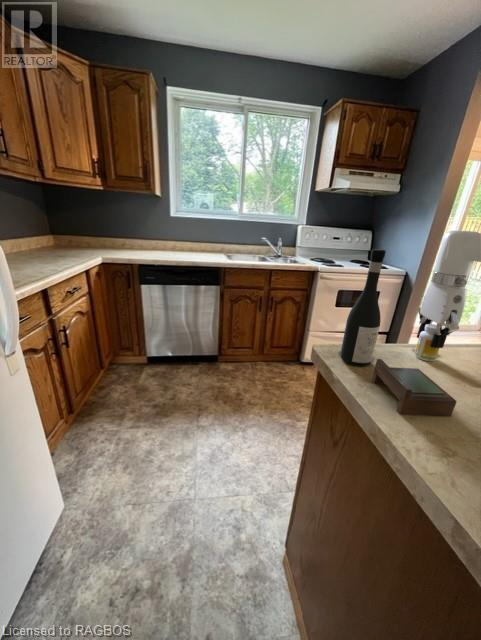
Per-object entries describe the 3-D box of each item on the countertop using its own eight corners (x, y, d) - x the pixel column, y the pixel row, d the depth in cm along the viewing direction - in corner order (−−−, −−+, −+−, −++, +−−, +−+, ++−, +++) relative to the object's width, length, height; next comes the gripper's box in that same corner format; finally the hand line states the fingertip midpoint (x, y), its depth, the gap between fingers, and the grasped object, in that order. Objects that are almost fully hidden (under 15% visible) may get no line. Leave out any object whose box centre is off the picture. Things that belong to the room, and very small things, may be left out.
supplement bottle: (439, 360, 78) (450, 328, 74) (427, 363, 76) (437, 331, 72) (422, 352, 82) (431, 322, 79) (409, 354, 80) (418, 323, 77)
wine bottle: (377, 364, 73) (405, 251, 63) (356, 370, 70) (382, 251, 60) (353, 352, 80) (376, 247, 70) (333, 356, 77) (353, 247, 66)
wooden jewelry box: (412, 386, 64) (420, 360, 62) (448, 422, 53) (460, 392, 50) (370, 385, 64) (377, 358, 61) (397, 420, 53) (407, 389, 50)
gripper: (490, 288, 63) (465, 357, 69) (440, 274, 79) (423, 331, 86) (459, 287, 63) (436, 356, 69) (415, 273, 79) (399, 330, 85)
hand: (429, 342), depth 77 cm, fingers closed on supplement bottle, 5 cm apart
